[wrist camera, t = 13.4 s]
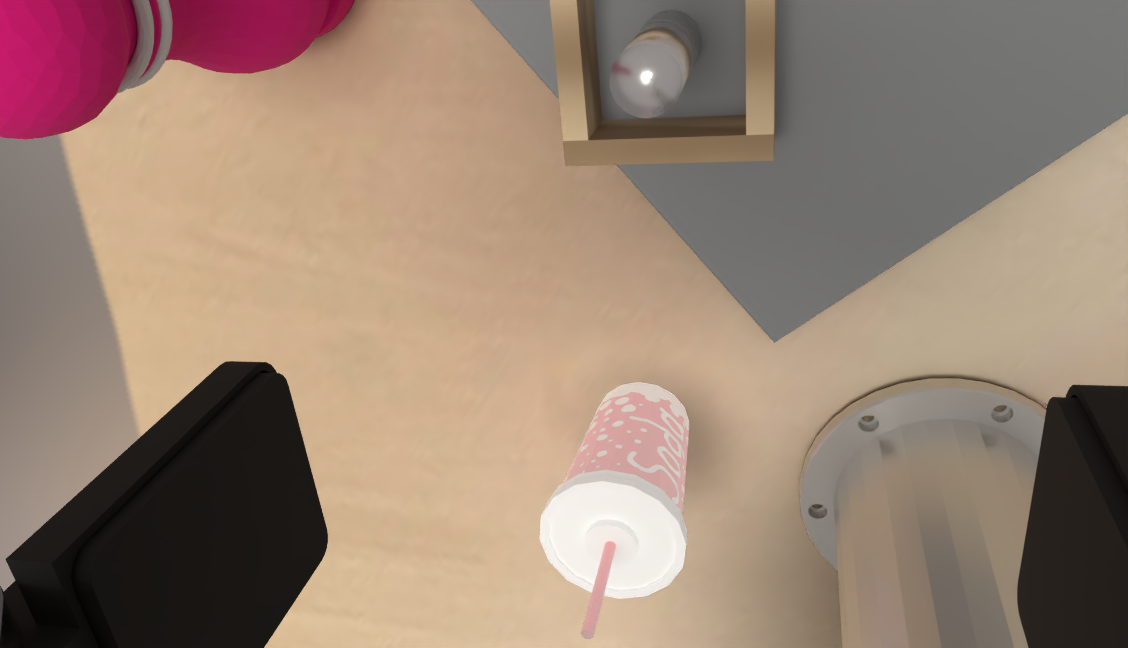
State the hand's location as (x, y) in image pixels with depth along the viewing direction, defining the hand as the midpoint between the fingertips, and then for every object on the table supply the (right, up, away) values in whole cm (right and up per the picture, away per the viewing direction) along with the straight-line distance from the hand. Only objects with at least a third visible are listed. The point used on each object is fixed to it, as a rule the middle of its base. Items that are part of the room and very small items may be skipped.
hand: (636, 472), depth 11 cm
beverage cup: (+3, -3, +34) cm, 34 cm away
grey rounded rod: (+3, +13, +25) cm, 28 cm away
